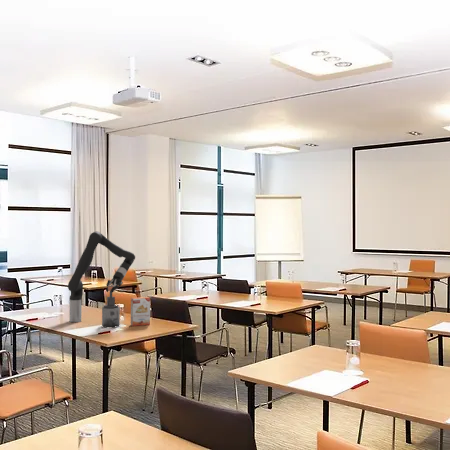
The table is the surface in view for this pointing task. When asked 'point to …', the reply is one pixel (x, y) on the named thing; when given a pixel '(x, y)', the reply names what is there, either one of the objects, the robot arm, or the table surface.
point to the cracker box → (140, 311)
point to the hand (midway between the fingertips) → (109, 291)
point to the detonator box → (110, 313)
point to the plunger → (110, 290)
